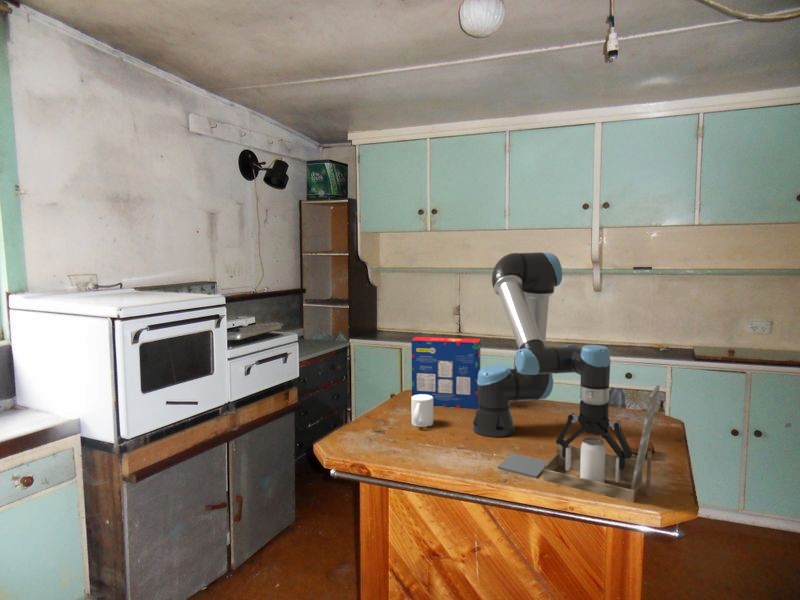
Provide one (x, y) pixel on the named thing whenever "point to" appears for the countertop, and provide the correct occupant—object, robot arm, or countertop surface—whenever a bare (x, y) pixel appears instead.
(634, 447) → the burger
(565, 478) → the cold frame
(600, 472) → the can
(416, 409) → the mug
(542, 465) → the mat
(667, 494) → the countertop surface
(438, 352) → the blue board game box
